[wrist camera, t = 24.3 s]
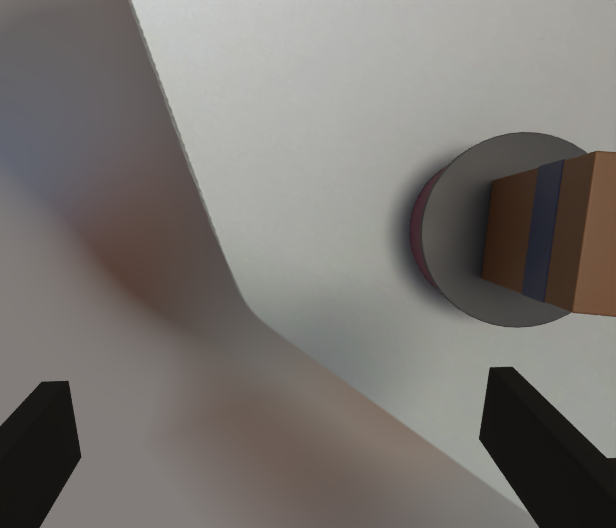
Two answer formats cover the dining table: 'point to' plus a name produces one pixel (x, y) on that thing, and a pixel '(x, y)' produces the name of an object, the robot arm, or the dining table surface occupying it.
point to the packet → (557, 234)
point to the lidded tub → (478, 227)
